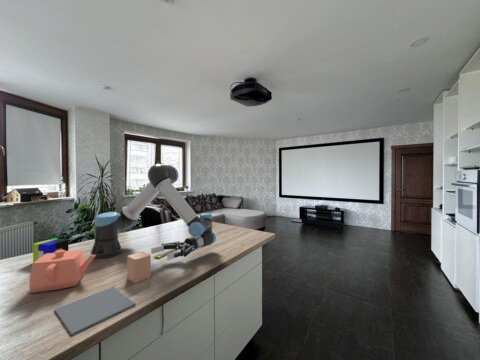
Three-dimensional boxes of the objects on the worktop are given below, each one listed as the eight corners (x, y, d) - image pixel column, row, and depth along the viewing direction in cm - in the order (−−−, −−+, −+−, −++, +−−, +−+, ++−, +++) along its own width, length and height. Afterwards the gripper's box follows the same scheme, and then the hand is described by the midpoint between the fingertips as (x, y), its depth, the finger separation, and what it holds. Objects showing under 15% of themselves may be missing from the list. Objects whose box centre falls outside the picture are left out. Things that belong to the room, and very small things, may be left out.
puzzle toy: (48, 265, 105) (48, 245, 105) (33, 263, 107) (33, 243, 107) (68, 257, 115) (68, 239, 115) (53, 256, 117) (54, 238, 117)
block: (127, 278, 93) (127, 255, 93) (142, 272, 98) (142, 251, 98) (134, 283, 88) (135, 259, 88) (150, 277, 94) (150, 255, 94)
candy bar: (173, 249, 132) (173, 246, 132) (178, 250, 131) (178, 247, 131) (152, 258, 117) (152, 255, 117) (158, 259, 115) (158, 256, 115)
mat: (54, 310, 70) (54, 308, 70) (113, 288, 84) (113, 286, 84) (71, 335, 59) (71, 333, 59) (135, 305, 73) (135, 303, 73)
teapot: (20, 302, 74) (20, 263, 74) (48, 275, 94) (48, 244, 94) (88, 291, 82) (88, 255, 82) (100, 268, 102) (100, 240, 102)
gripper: (208, 254, 111) (175, 268, 94) (179, 245, 126) (145, 256, 109) (209, 240, 111) (175, 251, 94) (179, 233, 126) (145, 241, 109)
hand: (159, 254), depth 101 cm, fingers open, 13 cm apart
